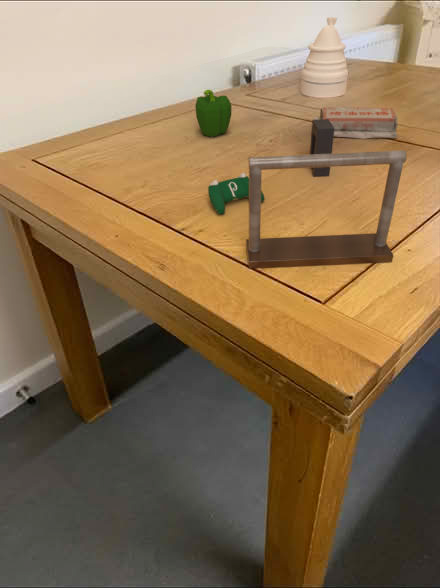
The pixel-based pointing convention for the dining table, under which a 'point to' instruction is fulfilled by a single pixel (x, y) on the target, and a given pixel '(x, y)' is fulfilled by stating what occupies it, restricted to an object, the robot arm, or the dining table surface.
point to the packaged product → (361, 122)
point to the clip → (321, 143)
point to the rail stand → (322, 247)
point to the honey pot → (325, 65)
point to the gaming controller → (229, 191)
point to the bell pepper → (213, 113)
